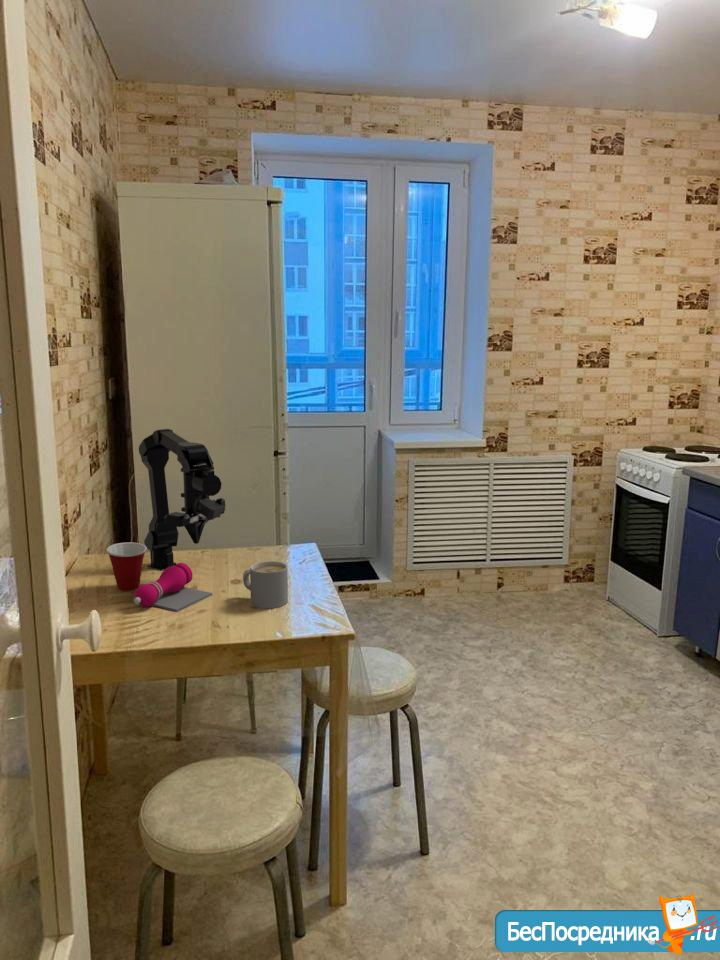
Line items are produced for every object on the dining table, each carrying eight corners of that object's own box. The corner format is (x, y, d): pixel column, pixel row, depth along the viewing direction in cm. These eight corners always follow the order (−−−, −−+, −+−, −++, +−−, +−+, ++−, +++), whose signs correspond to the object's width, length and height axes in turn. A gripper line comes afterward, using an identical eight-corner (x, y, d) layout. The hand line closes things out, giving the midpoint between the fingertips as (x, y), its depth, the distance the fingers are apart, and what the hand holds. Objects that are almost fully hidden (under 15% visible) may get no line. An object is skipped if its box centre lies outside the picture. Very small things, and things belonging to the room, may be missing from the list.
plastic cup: (124, 597, 191) (121, 555, 189) (101, 589, 197) (98, 548, 195) (156, 586, 200) (154, 546, 197) (133, 578, 206) (131, 539, 204)
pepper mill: (180, 555, 197) (131, 583, 179) (198, 573, 196) (150, 602, 178) (169, 572, 200) (120, 600, 182) (187, 589, 199) (139, 620, 181)
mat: (132, 600, 189) (132, 598, 188) (168, 585, 201) (168, 583, 201) (177, 611, 181) (177, 609, 181) (212, 595, 193) (212, 593, 193)
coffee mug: (295, 601, 189) (295, 566, 187) (267, 611, 182) (267, 575, 180) (262, 589, 198) (262, 556, 196) (235, 599, 191) (234, 564, 189)
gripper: (193, 499, 183) (195, 556, 186) (238, 486, 199) (239, 539, 202) (161, 494, 188) (164, 550, 191) (208, 482, 204) (209, 534, 207)
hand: (196, 543), depth 198 cm, fingers closed
